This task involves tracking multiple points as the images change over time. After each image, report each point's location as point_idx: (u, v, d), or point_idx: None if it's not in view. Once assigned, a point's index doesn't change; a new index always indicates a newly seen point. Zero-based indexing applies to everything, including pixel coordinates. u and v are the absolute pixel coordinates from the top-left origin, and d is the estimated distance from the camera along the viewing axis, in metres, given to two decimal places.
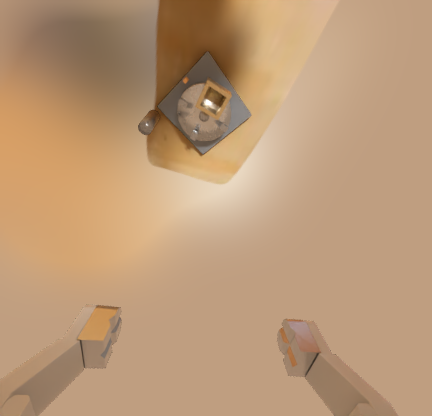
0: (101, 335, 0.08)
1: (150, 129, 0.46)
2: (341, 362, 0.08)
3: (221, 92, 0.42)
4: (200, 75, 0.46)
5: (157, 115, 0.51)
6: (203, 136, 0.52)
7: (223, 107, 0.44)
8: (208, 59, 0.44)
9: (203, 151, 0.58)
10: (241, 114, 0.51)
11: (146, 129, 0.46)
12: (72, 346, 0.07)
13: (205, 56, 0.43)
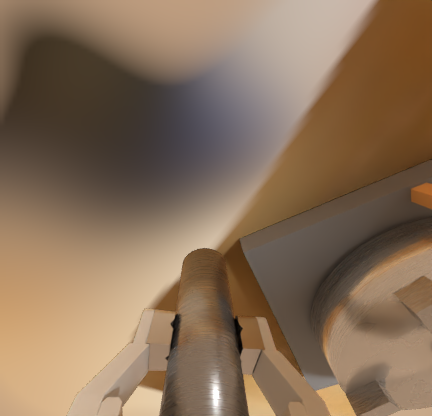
0: (167, 339, 0.08)
1: None
2: (285, 360, 0.08)
3: None
4: None
5: None
6: (393, 398, 0.13)
7: None
8: None
9: (318, 385, 0.18)
10: None
11: None
12: (144, 350, 0.07)
13: None
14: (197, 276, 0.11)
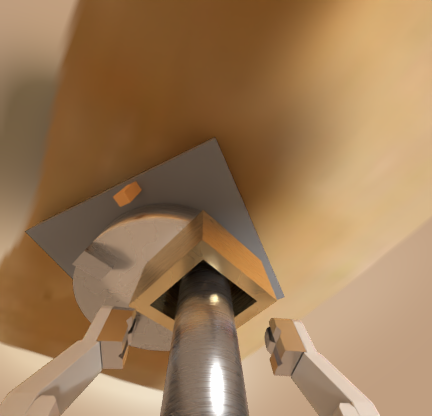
0: (119, 336, 0.08)
1: None
2: (326, 362, 0.08)
3: (244, 285, 0.11)
4: (180, 189, 0.15)
5: None
6: (148, 340, 0.17)
7: (236, 323, 0.12)
8: (212, 158, 0.15)
9: None
10: None
11: None
12: (92, 347, 0.07)
13: (205, 149, 0.14)
14: (198, 271, 0.11)
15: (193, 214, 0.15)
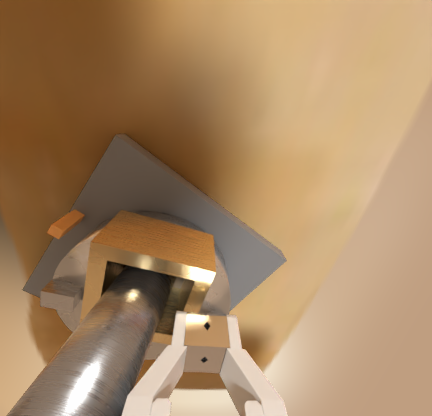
0: (203, 341, 0.08)
1: None
2: (250, 358, 0.08)
3: (168, 270, 0.10)
4: (116, 198, 0.15)
5: None
6: (160, 349, 0.17)
7: (192, 311, 0.11)
8: (125, 155, 0.14)
9: None
10: (258, 263, 0.18)
11: None
12: (183, 352, 0.08)
13: (114, 149, 0.14)
14: (122, 271, 0.11)
15: None
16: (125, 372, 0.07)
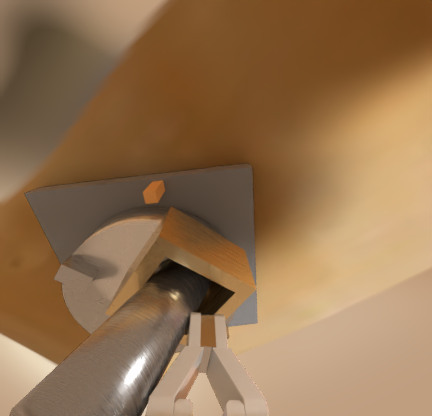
0: (219, 342, 0.08)
1: None
2: (235, 357, 0.08)
3: (216, 277, 0.10)
4: (201, 200, 0.16)
5: (205, 279, 0.11)
6: None
7: None
8: (242, 183, 0.15)
9: None
10: (239, 313, 0.21)
11: None
12: (200, 353, 0.08)
13: (239, 173, 0.15)
14: (164, 268, 0.11)
15: None
16: (154, 375, 0.07)
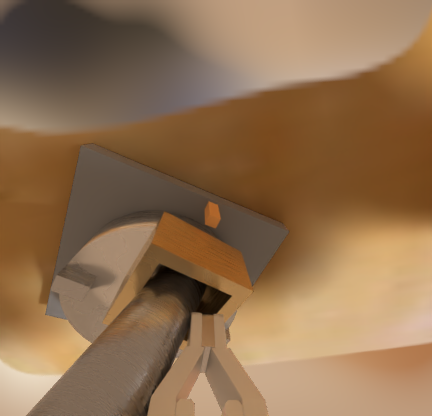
0: (220, 342, 0.08)
1: None
2: (234, 357, 0.08)
3: (212, 282, 0.10)
4: (236, 236, 0.17)
5: None
6: None
7: None
8: (274, 239, 0.17)
9: (55, 312, 0.19)
10: None
11: None
12: (201, 353, 0.08)
13: (277, 231, 0.17)
14: (159, 272, 0.11)
15: None
16: (155, 380, 0.07)
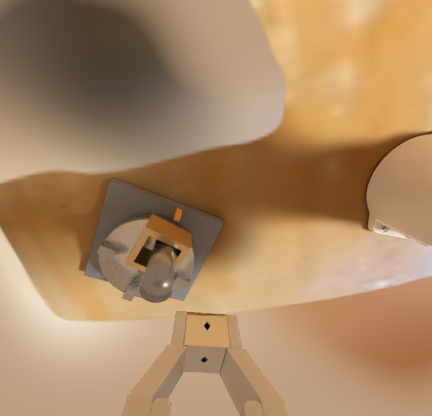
0: (203, 341, 0.08)
1: (169, 289, 0.19)
2: (249, 358, 0.08)
3: (172, 244, 0.23)
4: (194, 226, 0.30)
5: None
6: None
7: (177, 264, 0.24)
8: (216, 228, 0.31)
9: (89, 273, 0.32)
10: (177, 291, 0.35)
11: (159, 291, 0.19)
12: (183, 352, 0.08)
13: (217, 223, 0.30)
14: (156, 243, 0.24)
15: None
16: (172, 268, 0.21)
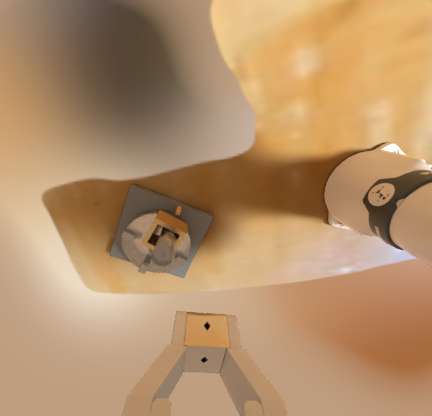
0: (203, 341, 0.08)
1: (170, 257, 0.29)
2: (250, 358, 0.08)
3: (173, 230, 0.34)
4: (190, 219, 0.41)
5: None
6: (156, 267, 0.41)
7: (177, 244, 0.35)
8: (207, 221, 0.41)
9: (113, 254, 0.43)
10: (179, 269, 0.46)
11: (164, 258, 0.29)
12: (183, 352, 0.08)
13: (208, 217, 0.41)
14: (162, 229, 0.35)
15: None
16: (172, 245, 0.31)
